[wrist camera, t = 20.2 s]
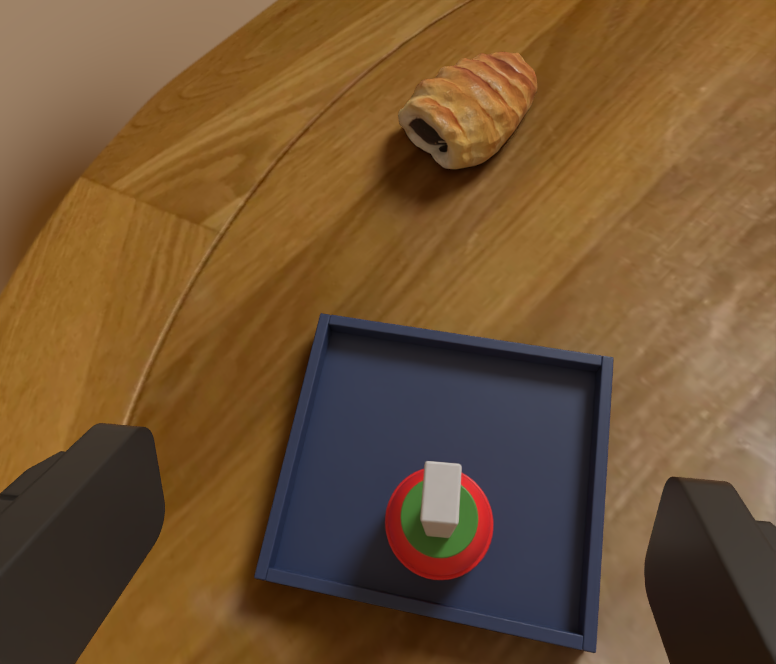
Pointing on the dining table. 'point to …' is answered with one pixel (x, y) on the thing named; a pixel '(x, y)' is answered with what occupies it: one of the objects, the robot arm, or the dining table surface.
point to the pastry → (469, 108)
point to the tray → (450, 445)
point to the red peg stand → (439, 522)
